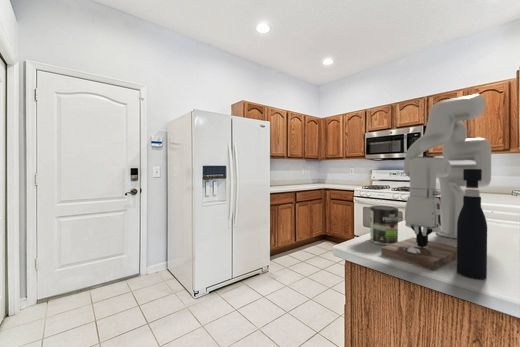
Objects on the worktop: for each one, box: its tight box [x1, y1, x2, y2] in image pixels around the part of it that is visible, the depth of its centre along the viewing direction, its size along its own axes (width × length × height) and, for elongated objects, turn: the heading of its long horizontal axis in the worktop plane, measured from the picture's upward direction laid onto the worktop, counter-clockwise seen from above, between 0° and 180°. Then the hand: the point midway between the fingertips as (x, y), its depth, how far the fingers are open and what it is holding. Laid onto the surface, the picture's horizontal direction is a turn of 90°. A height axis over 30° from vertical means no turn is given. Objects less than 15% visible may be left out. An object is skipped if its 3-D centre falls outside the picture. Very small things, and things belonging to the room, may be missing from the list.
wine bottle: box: [456, 169, 488, 281], centre depth 68 cm, size 6×6×30 cm
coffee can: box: [369, 205, 399, 246], centre depth 99 cm, size 10×10×14 cm
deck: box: [380, 237, 457, 271], centre depth 84 cm, size 22×16×2 cm
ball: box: [407, 246, 421, 254], centre depth 81 cm, size 4×4×4 cm
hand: (422, 245), depth 84 cm, fingers closed
